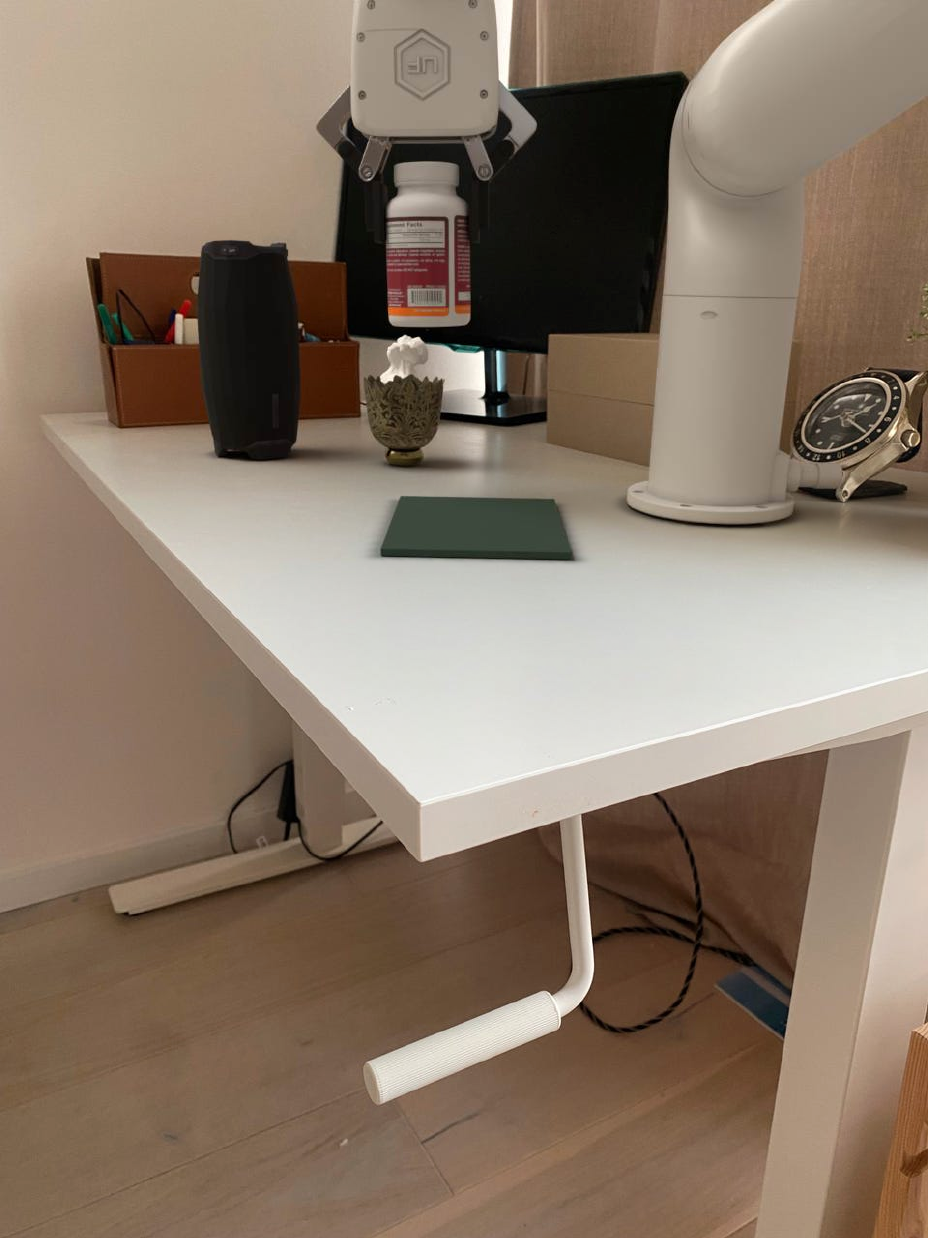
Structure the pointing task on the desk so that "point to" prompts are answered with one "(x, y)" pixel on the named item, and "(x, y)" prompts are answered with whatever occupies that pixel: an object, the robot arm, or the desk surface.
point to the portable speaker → (249, 347)
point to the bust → (405, 358)
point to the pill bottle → (427, 247)
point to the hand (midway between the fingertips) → (427, 239)
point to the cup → (403, 415)
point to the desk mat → (476, 528)
